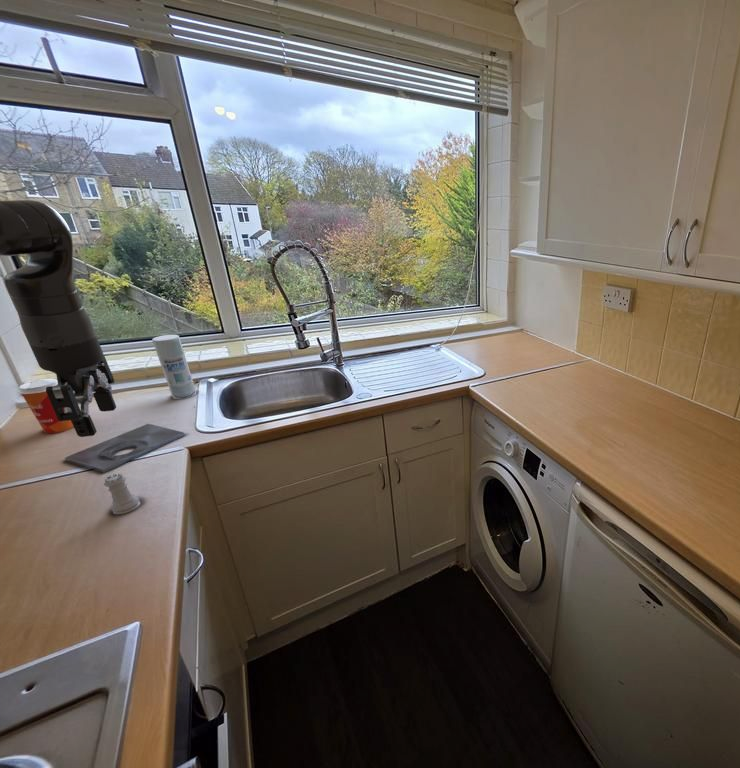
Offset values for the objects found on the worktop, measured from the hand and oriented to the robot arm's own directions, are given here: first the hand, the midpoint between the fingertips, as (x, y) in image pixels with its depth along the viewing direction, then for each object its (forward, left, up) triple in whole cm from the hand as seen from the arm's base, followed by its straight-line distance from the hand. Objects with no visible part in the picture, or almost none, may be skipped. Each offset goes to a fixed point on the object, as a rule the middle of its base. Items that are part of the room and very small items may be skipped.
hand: (98, 422), depth 72 cm
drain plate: (+16, +30, -22) cm, 40 cm away
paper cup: (+16, +58, -22) cm, 64 cm away
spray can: (+43, +49, -22) cm, 69 cm away
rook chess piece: (+1, +5, -22) cm, 22 cm away
